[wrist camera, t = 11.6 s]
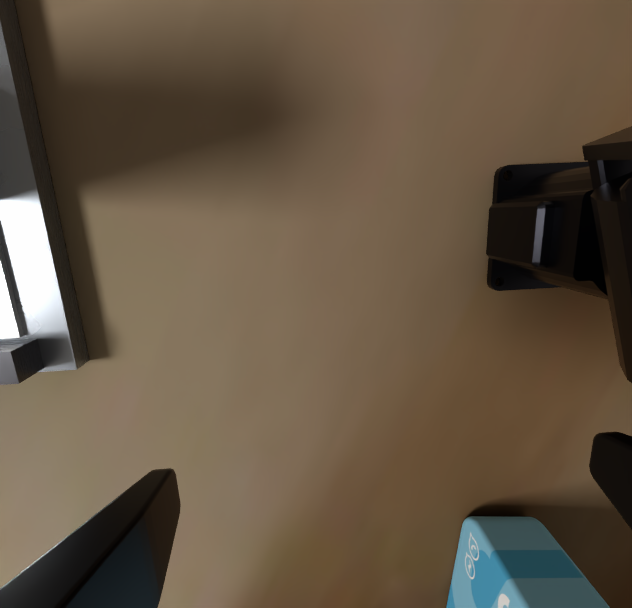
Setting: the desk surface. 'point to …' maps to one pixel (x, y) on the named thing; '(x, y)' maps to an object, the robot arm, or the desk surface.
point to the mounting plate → (30, 233)
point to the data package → (516, 568)
